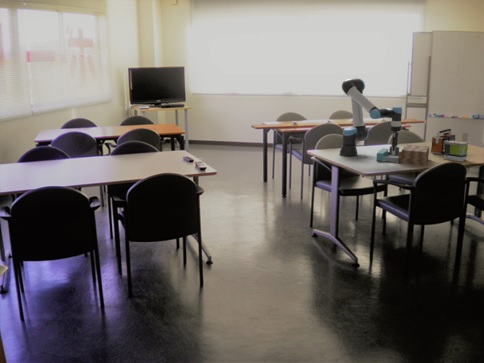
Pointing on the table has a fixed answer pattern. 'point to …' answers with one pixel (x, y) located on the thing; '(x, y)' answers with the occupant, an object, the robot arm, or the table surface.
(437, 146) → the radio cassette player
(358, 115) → the robot arm
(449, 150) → the tea box
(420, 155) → the wooden drawer cabinet
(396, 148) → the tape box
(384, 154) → the drawer
